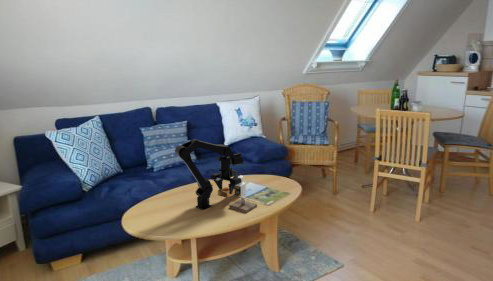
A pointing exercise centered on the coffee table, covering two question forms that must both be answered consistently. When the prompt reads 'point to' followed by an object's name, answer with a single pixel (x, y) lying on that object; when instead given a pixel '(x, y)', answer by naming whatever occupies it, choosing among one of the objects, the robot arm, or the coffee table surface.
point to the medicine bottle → (240, 187)
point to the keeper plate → (243, 205)
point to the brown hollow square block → (225, 192)
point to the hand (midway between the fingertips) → (226, 192)
